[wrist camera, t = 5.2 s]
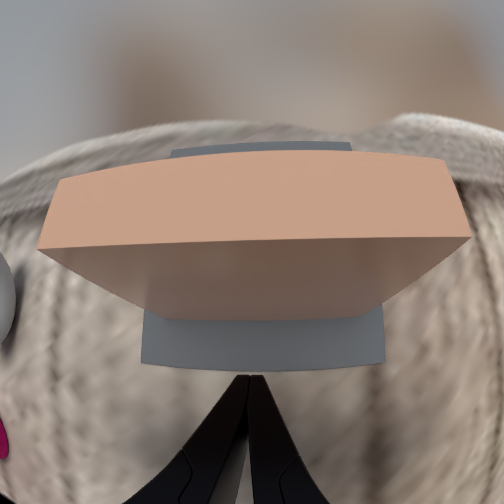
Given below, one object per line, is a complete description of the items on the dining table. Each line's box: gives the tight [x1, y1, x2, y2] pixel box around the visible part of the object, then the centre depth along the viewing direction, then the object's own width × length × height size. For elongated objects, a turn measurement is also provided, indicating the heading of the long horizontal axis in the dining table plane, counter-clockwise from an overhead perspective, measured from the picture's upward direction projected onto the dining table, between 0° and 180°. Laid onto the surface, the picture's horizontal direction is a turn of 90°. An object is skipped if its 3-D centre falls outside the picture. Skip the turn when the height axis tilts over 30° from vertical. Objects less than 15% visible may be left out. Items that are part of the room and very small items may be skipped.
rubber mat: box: [141, 141, 386, 371], centre depth 18 cm, size 17×15×1 cm
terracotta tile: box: [37, 150, 472, 321], centre depth 11 cm, size 3×12×11 cm, turn 89°
